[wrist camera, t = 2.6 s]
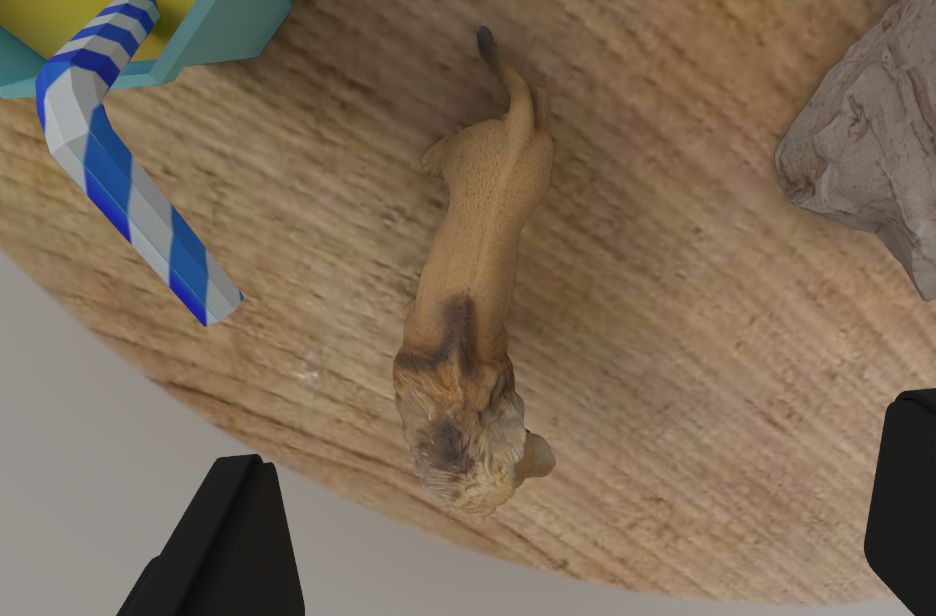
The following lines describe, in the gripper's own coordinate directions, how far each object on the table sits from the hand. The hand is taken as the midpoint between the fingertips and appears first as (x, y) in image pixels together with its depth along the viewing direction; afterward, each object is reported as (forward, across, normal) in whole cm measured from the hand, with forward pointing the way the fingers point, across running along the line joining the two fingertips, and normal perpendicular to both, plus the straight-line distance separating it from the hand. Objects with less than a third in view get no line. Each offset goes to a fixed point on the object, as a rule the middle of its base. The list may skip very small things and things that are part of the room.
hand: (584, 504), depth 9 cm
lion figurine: (+16, +1, 0) cm, 16 cm away
